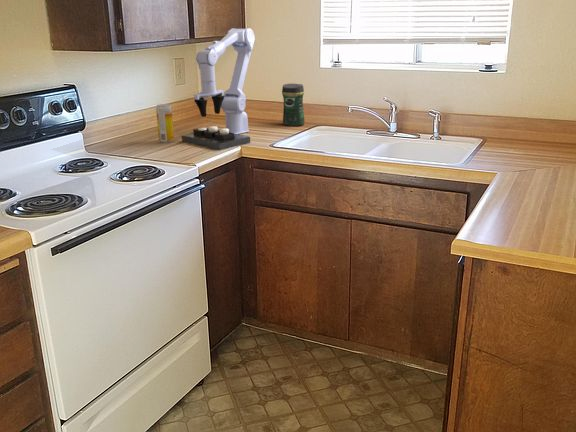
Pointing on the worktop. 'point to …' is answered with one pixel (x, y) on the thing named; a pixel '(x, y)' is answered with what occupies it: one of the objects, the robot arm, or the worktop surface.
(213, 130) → the button
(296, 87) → the coffee jar
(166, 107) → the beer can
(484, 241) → the worktop surface
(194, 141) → the push button control box
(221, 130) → the button
